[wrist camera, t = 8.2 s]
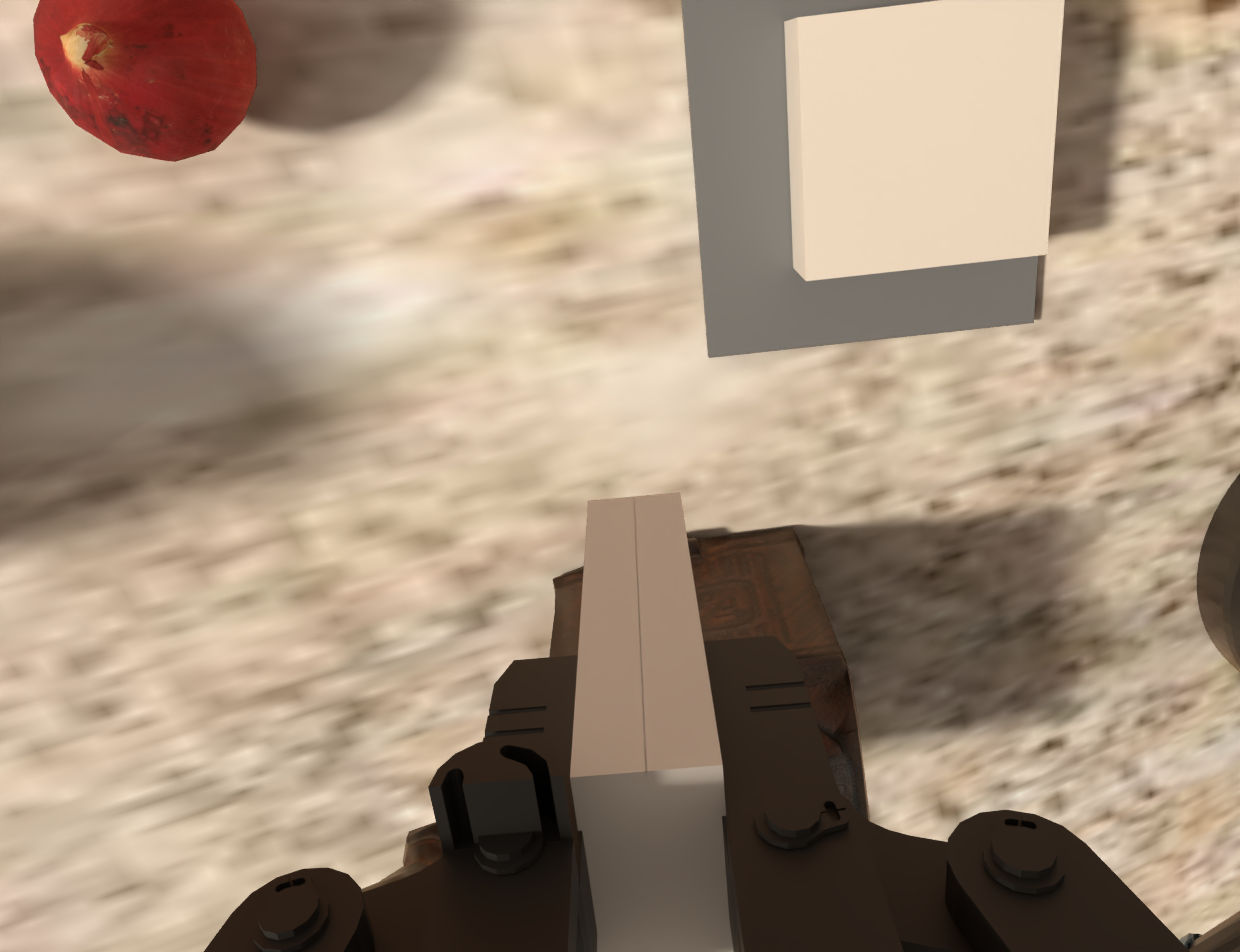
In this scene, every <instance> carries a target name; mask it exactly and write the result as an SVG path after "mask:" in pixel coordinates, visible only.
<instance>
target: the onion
mask: <svg viewBox="0 0 1240 952" xmlns="http://www.w3.org/2000/svg"><path fill="white" fill-rule="evenodd" d="M33 22H34V41H35V56H36V58H37V61H38V63H39V66H40V68H41V71H42V73H43V76H44V78H45V81H46V83H47V86H48V88H49V91H50V93H51V94H52V95H53V96H54V98H55V99H56V100H57V101H58V103H59V104H60V105H61V106H62V108H63V109H64V110H65V111H66V113H67V114H68V115H69V117H70V118H71V119H72V120H73V122H74V123H75V124H76V125H77V126H79V127H81V128H82V129H84V130H85V131H87V132H89V133H90V134H92V135H94V136H95V137H97V138H98V139H100V140H102V141H103V142H105V143H106V144H108V145H110V146H111V147H113V148H115V149H116V150H118V151H119V152H121V153H125V154H131V155H137V156H142V157H148V158H153V159H159V160H165V161H174V162H176V161H179V160H183V159H186V158H189V157H193V156H196V155H199V154H203V153H206V152H209V151H213V150H215V149H216V148H217V147H218V146H219V145H220V144H221V143H222V142H223V141H224V140H225V139H226V138H227V137H228V136H229V135H230V134H231V133H232V132H233V130H234V129H235V128H236V127H237V126H238V125H239V124H240V123H241V122H242V120H243V119H244V117H245V115H246V112H247V110H248V107H249V104H250V102H251V99H252V97H253V94H254V91H255V89H256V86H257V74H256V47H255V44H254V42H253V39H252V36H251V34H250V31H249V28H248V26H247V23H246V21H245V18H244V15H243V13H242V10H241V9H240V8H239V7H238V5H237V4H236V3H235V2H234V0H40V1H39V4H38V7H37V10H36V13H35V15H34V19H33Z"/></svg>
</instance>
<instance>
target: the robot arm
mask: <svg viewBox="0 0 1240 952" xmlns="http://www.w3.org/2000/svg"><path fill="white" fill-rule="evenodd" d="M1197 596H1198V603H1199V609H1200V613H1201V617H1202V620H1203V623H1204V625H1205V628H1206V630H1207V632H1208V634H1209V636H1210V638H1211V640H1212V641H1213V643H1214V645H1215V646H1216V648H1217V649H1218V650H1219V651H1220V653H1221V654H1222V655H1223V656H1224V657H1225V658H1226V659H1227V660H1228V662H1229V663H1230V664H1232V665H1233V666H1234V667H1235V668H1236V669H1237V670H1238V671H1239V672H1240V474H1239V475H1238V477H1237V478H1236V479H1235V481H1234V482H1233V483H1232V485H1231V486H1230V488H1229V489H1228V491H1227V492H1226V494H1225V496H1224V497H1223V499H1222V500H1221V502H1220V504H1219V506H1218V508H1217V510H1216V512H1215V513H1214V516H1213V518H1212V520H1211V522H1210V525H1209V527H1208V530H1207V532H1206V535H1205V538H1204V541H1203V545H1202V549H1201V552H1200V558H1199V563H1198V572H1197ZM428 788H429V792H430V797H431V801H432V806H433V810H434V815H435V819H436V823H437V828H438V832H439V837H440V841H441V846H442V850H443V854H442V857H441V858H439V859H438V860H437V861H435V862H434V863H432V864H430V865H429V866H427V867H426V868H424V869H423V870H421V871H419V872H417V873H414V874H412V875H410V876H407V877H405V878H403V879H400V880H397V881H394V882H391V883H388V884H385V885H383V886H380V887H377V888H374V889H371V890H368V891H365V892H362V890H361V888H360V887H359V886H358V884H357V883H356V882H355V881H354V880H353V879H352V878H351V877H350V876H349V875H348V874H346V873H343V872H340V871H337V870H334V869H331V868H311V869H301V870H298V871H295V872H292V873H289V874H286V875H283V876H280V877H277V878H275V879H274V880H272V881H270V882H269V883H267V884H266V885H264V886H262V887H261V888H259V889H258V890H256V891H254V892H253V893H251V894H250V895H249V896H248V897H247V898H246V899H245V901H244V902H243V903H242V904H241V905H240V906H239V907H238V908H237V909H236V910H235V911H234V912H233V913H232V914H231V915H230V917H229V918H228V919H227V921H226V922H225V924H224V925H223V926H222V928H221V929H220V930H219V932H218V933H217V934H216V936H215V937H214V939H213V940H212V941H211V943H210V944H209V945H208V947H207V948H206V949H205V951H204V952H1240V911H1239V912H1237V913H1236V914H1234V915H1233V916H1231V917H1229V918H1228V919H1226V920H1225V921H1223V922H1222V923H1220V924H1219V925H1217V926H1216V927H1214V928H1213V929H1211V930H1210V931H1208V932H1207V933H1205V934H1204V935H1200V934H1191V933H1189V934H1187V935H1185V936H1184V937H1182V938H1181V939H1180V940H1179V939H1178V938H1177V937H1176V936H1175V935H1174V934H1173V933H1172V932H1171V931H1170V930H1169V929H1168V928H1167V927H1166V926H1165V925H1164V924H1163V923H1162V922H1161V921H1160V920H1159V919H1158V918H1157V917H1156V916H1155V915H1154V914H1153V913H1152V912H1151V910H1150V909H1149V908H1148V907H1147V906H1146V905H1145V904H1144V903H1143V902H1142V901H1141V900H1140V899H1139V898H1138V897H1137V896H1136V895H1135V894H1134V893H1133V892H1132V891H1131V890H1130V889H1129V888H1128V887H1127V886H1126V885H1125V884H1124V883H1123V882H1122V880H1121V879H1120V878H1119V877H1118V876H1117V875H1116V874H1115V873H1114V872H1113V871H1112V870H1111V869H1110V868H1109V867H1108V866H1107V865H1106V864H1105V863H1104V862H1103V861H1102V860H1101V859H1100V858H1099V857H1098V856H1097V855H1096V854H1095V853H1094V852H1093V851H1092V849H1091V848H1090V847H1089V846H1088V845H1087V844H1086V843H1084V842H1083V841H1082V840H1080V839H1079V838H1078V837H1077V836H1075V835H1074V834H1073V833H1071V832H1070V831H1069V830H1067V829H1066V828H1065V827H1063V826H1062V825H1059V824H1057V823H1054V822H1052V821H1050V820H1047V819H1045V818H1043V817H1040V816H1038V815H1035V814H1030V813H1023V812H1017V811H1011V810H1000V811H991V812H982V813H979V814H977V815H975V816H973V817H970V818H968V819H966V820H964V821H962V822H960V823H959V825H958V826H957V827H956V829H955V830H954V831H953V833H952V834H951V836H950V837H949V838H948V842H943V841H938V840H932V839H926V838H920V837H914V836H909V835H905V834H901V833H898V832H894V831H890V830H887V829H885V828H883V827H881V826H878V825H876V824H874V823H872V822H870V821H868V820H867V819H866V818H864V817H863V816H861V815H860V814H859V813H857V812H856V811H855V809H854V807H853V806H852V804H851V803H850V801H849V800H848V799H847V798H845V797H844V796H842V795H841V793H840V791H839V789H838V787H837V784H836V781H835V778H834V775H833V772H832V768H831V765H830V762H829V759H828V756H827V752H826V749H825V746H824V743H823V740H822V737H821V733H820V730H819V727H818V724H817V721H816V717H815V714H814V711H813V708H812V707H811V702H810V698H809V695H808V692H807V689H806V686H805V685H804V679H803V676H802V673H801V670H800V667H799V663H798V660H797V657H796V655H795V654H793V653H792V652H791V651H790V650H789V649H788V648H787V647H786V646H785V645H784V644H783V643H782V642H780V641H779V640H778V639H777V638H776V637H775V636H774V635H773V636H762V637H750V638H739V639H727V640H715V641H704V642H703V636H702V630H701V623H700V617H699V611H698V604H697V598H696V591H695V585H694V579H693V572H692V566H691V559H690V553H689V547H688V540H687V534H686V528H685V521H684V515H683V508H682V502H681V496H680V493H669V494H658V495H647V496H636V497H625V498H614V499H603V500H592V501H588V510H587V525H586V540H585V555H584V571H583V586H582V601H581V617H580V632H579V647H578V655H572V656H560V657H548V658H537V659H525V660H514V661H513V662H512V664H511V665H510V666H509V667H508V668H507V670H506V671H505V672H504V673H503V675H502V676H501V677H500V678H499V679H498V681H497V682H496V683H495V684H494V689H493V694H492V699H491V704H490V709H489V716H488V719H487V724H486V729H485V738H484V739H483V742H480V743H477V744H475V745H473V746H471V747H468V748H466V749H464V750H462V751H460V752H458V753H456V754H455V755H453V756H452V757H451V758H450V759H449V760H448V761H447V762H445V763H444V764H443V765H442V766H441V767H440V768H439V769H438V770H437V772H436V774H435V776H434V777H433V779H432V781H431V783H430V785H429V787H428Z"/></svg>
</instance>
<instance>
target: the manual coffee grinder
mask: <svg viewBox="0 0 1240 952" xmlns="http://www.w3.org/2000/svg"><path fill="white" fill-rule="evenodd" d="M687 540H688V547H689V553H690V559H691V566H692V572H693V579H694V585H695V591H696V598H697V604H698V611H699V617H700V623H701V630H702V636H703V642H704V641H715V640H727V639H739V638H750V637H762V636H773V635H774V636H775V637H776V638H777V639H778V640H779V641H780V642H782V643H783V644H784V645H785V646H786V647H787V648H788V649H789V650H790V651H791V652H792V653H793V654H795V655H796V657H797V660H798V663H799V667H800V670H801V673H802V676H803V679H804V685H805V686H806V689H807V692H808V695H809V698H810V702H811V707H812V708H813V711H814V714H815V717H816V721H817V724H818V727H819V730H820V733H821V737H822V740H823V743H824V746H825V749H826V752H827V756H828V759H829V762H830V765H831V768H832V772H833V775H834V778H835V781H836V784H837V787H838V789H839V791H840V793H841V795H842V796H844V797H845V798H847V799H848V800H849V801H850V803H851V804H852V806H853V807H854V809H855V811H856V812H857V813H859V814H860V815H861V816H863V817H864V818H866V819H867V820H868V821H870V815H869V806H868V798H867V790H866V782H865V773H864V765H863V757H862V749H861V740H860V732H859V724H858V716H857V710H856V704H855V698H854V692H853V687H852V681H851V675H850V672H849V669H848V666H847V663H846V660H845V657H844V654H843V651H842V649H841V648H840V646H839V644H838V642H837V640H836V637H835V635H834V632H833V630H832V627H831V624H830V622H829V619H828V617H827V614H826V612H825V609H824V606H823V604H822V601H821V599H820V596H819V594H818V591H817V589H816V586H815V584H814V582H813V579H812V577H811V574H810V572H809V570H808V567H807V565H806V562H805V557H804V551H803V547H802V545H801V543H800V541H799V539H798V538H797V536H796V534H795V532H794V530H793V528H785V529H777V530H769V531H761V532H754V533H746V534H738V535H730V536H721V537H713V538H704V539H696V537H694V538H687ZM583 571H584V567H582V568H580V569H577V570H574V571H572V572H569V573H566V574H564V575H561V576H558V577H556V578H554V579H553V584H554V589H555V615H554V623H553V631H552V640H551V648H550V657H560V656H572V655H578V647H579V632H580V617H581V601H582V586H583ZM442 854H443V850H442V846H441V841H440V837H439V832H438V828H437V823H436V822H435V823H432V824H429V825H426V826H424V827H421V828H418V829H415V830H412V831H409V833H408V836H407V840H406V846H405V852H404V858H403V864H404V866H403V867H402V868H400V869H398V870H397V871H395V872H394V873H392V874H391V875H389V876H388V877H386V878H384V879H383V880H381V881H380V882H378V883H376V884H373V885H371V886H368V887H366V888H363V889H361V890H362V892H365V891H368V890H371V889H374V888H377V887H380V886H383V885H385V884H388V883H391V882H394V881H397V880H400V879H403V878H405V877H407V876H410V875H412V874H414V873H417V872H419V871H421V870H423V869H424V868H426V867H427V866H429V865H430V864H432V863H434V862H435V861H437V860H438V859H439V858H441V857H442Z"/></svg>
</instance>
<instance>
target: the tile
mask: <svg viewBox="0 0 1240 952" xmlns="http://www.w3.org/2000/svg"><path fill="white" fill-rule="evenodd" d="M1063 15H1064V0H938V1H930V2H922V3H913V4H905V5H897V6H888V7H880V8H872V9H863V10H855V11H847V12H839V13H830V14H822V15H814V16H805V17H797V18H794V19H791V20H788V21H785V22H784V31H785V58H786V86H787V113H788V140H789V167H790V194H791V222H792V249H793V268H794V269H795V270H796V271H797V272H798V273H799V275H800V276H801V277H802V278H803V279H804V280H805V281H813V280H822V279H831V278H840V277H849V276H858V275H867V274H876V273H886V272H895V271H904V270H913V269H922V268H931V267H940V266H949V265H958V264H967V263H976V262H985V261H994V260H1003V259H1012V258H1021V257H1030V256H1040V255H1047V249H1048V235H1049V220H1050V205H1051V191H1052V176H1053V161H1054V147H1055V132H1056V117H1057V103H1058V88H1059V74H1060V59H1061V44H1062V30H1063Z"/></svg>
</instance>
